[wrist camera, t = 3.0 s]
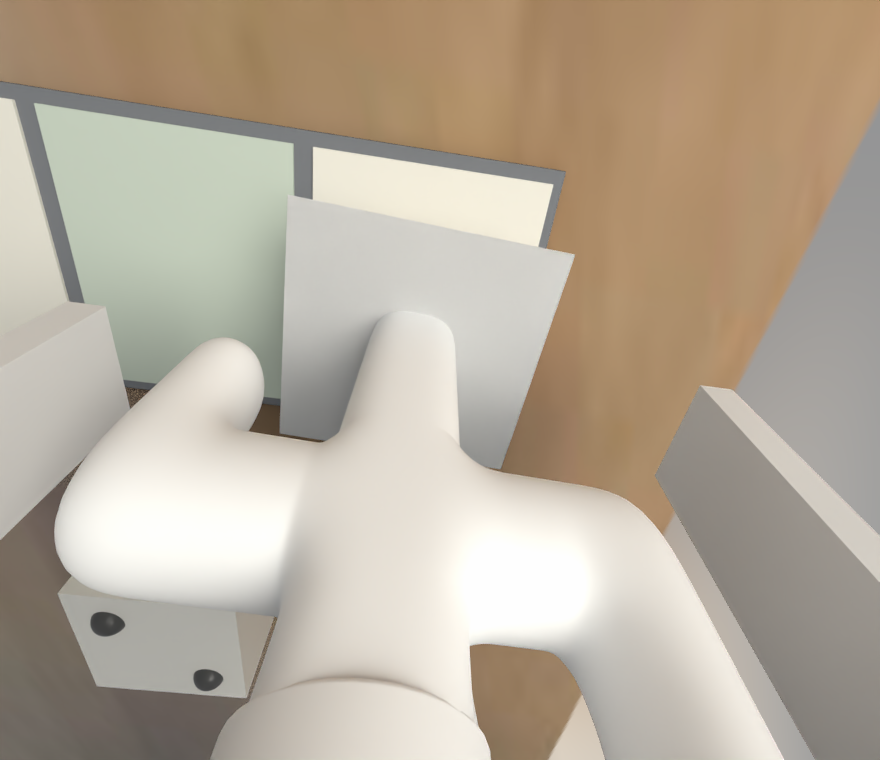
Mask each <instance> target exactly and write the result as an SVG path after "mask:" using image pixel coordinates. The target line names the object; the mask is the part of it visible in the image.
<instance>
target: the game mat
mask: <svg viewBox="0 0 880 760" xmlns="http://www.w3.org/2000/svg"><path fill="white" fill-rule="evenodd" d="M565 173H566V172H565V171H561V170H555V169H548V168H542V167H536V166H529V165H523V164H517V163H511V162H504V161H498V160H492V159H485V158H479V157H473V156H467V155H460V154H454V153H448V152H442V151H435V150H429V149H423V148H416V147H410V146H404V145H398V144H391V143H385V142H379V141H373V140H366V139H360V138H354V137H347V136H341V135H335V134H329V133H322V132H316V131H310V130H304V129H297V128H291V127H285V126H278V125H272V124H266V123H260V122H253V121H247V120H241V119H234V118H228V117H222V116H216V115H209V114H203V113H197V112H191V111H184V110H178V109H172V108H165V107H159V106H153V105H147V104H140V103H134V102H128V101H122V100H115V99H109V98H103V97H96V96H90V95H84V94H78V93H71V92H65V91H59V90H53V89H46V88H40V87H34V86H27V85H21V84H15V83H9V82H2V81H0V336H1V335H3V334H5V333H7V332H9V331H11V330H13V329H15V328H17V327H19V326H21V325H23V324H24V323H26V322H28V321H30V320H32V319H34V318H36V317H38V316H40V315H42V314H44V313H46V312H48V311H50V310H52V309H54V308H56V307H58V306H60V305H61V304H63V303H65V302H67V301H69V302H77V303H84V304H92V305H99V306H105V307H106V311H107V315H108V319H109V323H110V327H111V331H112V336H113V340H114V344H115V348H116V352H117V356H118V360H119V364H120V369H121V373H122V377H123V381H124V385H125V387H130V388H138V389H147V390H151V389H152V388H153V387H154V386H155V385H156V384H157V383H159V382H160V381H161V380H162V379H163V378H164V377H165V376H166V375H167V374H168V373H169V372H170V371H171V370H172V369H173V368H174V367H176V366H177V365H178V364H179V363H180V362H181V361H182V360H183V359H184V358H185V357H186V356H187V355H188V354H189V353H191V352H192V351H193V350H194V349H195V348H196V347H198V346H199V345H200V344H202V343H204V342H206V341H208V340H210V339H214V338H220V337H226V338H232V339H236V340H238V341H240V342H242V343H244V344H245V345H246V346H248V347H249V348H250V349H251V350H252V351H253V352H254V353H255V355H256V356H257V358H258V360H259V362H260V365H261V368H262V371H263V376H264V396H263V401H262V404H271V405H279V406H280V405H281V376H282V346H283V317H284V287H285V258H286V228H287V199H288V195H292V196H297V197H302V198H307V199H311V200H316V201H321V202H326V203H331V204H335V205H340V206H345V207H350V208H354V209H359V210H364V211H369V212H374V213H378V214H383V215H388V216H393V217H397V218H402V219H407V220H412V221H417V222H421V223H426V224H431V225H436V226H440V227H445V228H450V229H455V230H459V231H464V232H469V233H474V234H479V235H483V236H488V237H493V238H498V239H502V240H507V241H512V242H517V243H522V244H526V245H531V246H536V247H541V248H545V249H546V247H547V243H548V240H549V236H550V232H551V228H552V224H553V220H554V216H555V212H556V208H557V204H558V200H559V197H560V193H561V189H562V185H563V181H564V177H565Z"/></svg>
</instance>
